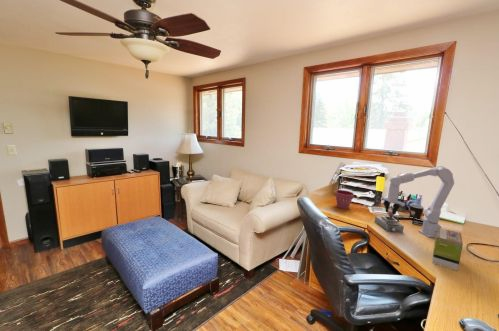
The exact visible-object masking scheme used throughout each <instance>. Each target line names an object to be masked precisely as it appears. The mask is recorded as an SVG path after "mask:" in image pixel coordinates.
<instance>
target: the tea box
mask: <svg viewBox="0 0 499 331" xmlns="http://www.w3.org/2000/svg"><path fill="white" fill-rule="evenodd" d="M463 245H464V243H463V237H462V233H461V232H459V231H455V230H450V229H447V228H442V227H441V228H437V232H436V238H435V237H434V244H433V252H432V253H433V254H432V262H431V263H432V264H434V263H435V264H434V265H437V264H438V265H437V266H440V265H441V267H443V266H444V268H446V267H448V268H447V269H449V268H451V270H453V269H454V271H456V270H457V271H458V270H459V267H460V266H459V265H460V261H461V256H462V255H461V254H462V251H463ZM457 271H456V272H457Z"/></svg>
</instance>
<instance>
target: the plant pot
mask: <svg viewBox="0 0 499 331" xmlns="http://www.w3.org/2000/svg"><path fill="white" fill-rule="evenodd" d="M334 194H335V198H336V199H335V200H336V206H337V207H338V208H339V209H343V210H347V209H349V208H350V206H351V203H352V200H353V199H354V196H355V195H354V192H353V191H352V192H351V191H350V190H344V189H343V190H342V189H338V190H335V193H334Z"/></svg>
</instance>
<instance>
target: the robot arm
mask: <svg viewBox="0 0 499 331" xmlns="http://www.w3.org/2000/svg"><path fill="white" fill-rule="evenodd" d="M428 176H431V177H432V176H433V177H438V178H439V179H440V181H441V182H442V184H441V185H440V188H439V189H438V191H437V193H436V195H435V197H434V199H433V201H432V203H431V204H430V205H429V206H428V208H427V209H425V210H424V211H423V212H424V213H423V214H424V216H425V217H424V218H423V222H422V228H421V229H418V232H420V233H422V234H423V235H425V236H426V237H428V238H434V239H435V238H436V232H437V228H442V226H441V225H440V224H439V221H440V220H441V219H440V218H441V214H442V213H441V212H442V210H441V209H442V208H443V206H444V204H445V202H446V200H447V198H448V197H449V195H450V192H451V190H452V189H453V188H454V185H455V181H454V180H455V179H454V176H453V172H452V171H451V170H450V169H449V168H446V167H445V166H442V165H438V166H433V167H430V168H427V169H424V170H420V171H416V172H414V173H412V172H408V171H407V172H404V173H403V174H397V175H393V176H391V177H390V179H389V188H388V195H387V197H385V196H382V197H380V201H383V206H384V208H385V213H387V211H388V207H391V204H393V205H392V206H393V214H394V215H396V213H397V211H398V209H399V208H400V207H405V206H406V203H405V202H402V201H400V200H398V199H399V193H400V185H402V184H407V183H410V182H413V181H414V180H415V179H418V178H423V177H428Z"/></svg>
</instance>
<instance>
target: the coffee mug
mask: <svg viewBox="0 0 499 331" xmlns="http://www.w3.org/2000/svg"><path fill="white" fill-rule="evenodd" d="M407 206H408V207H409V210H408V208H407ZM404 208H405V210H406V211H407V212H408V213H409V218H410V217H413V218H417V219H420V220H421V217H422V215H423V212H424V209H425V207H424V206H422V205H419V204H414V203H412V204H411V203H410V204H405V205H404Z"/></svg>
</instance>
